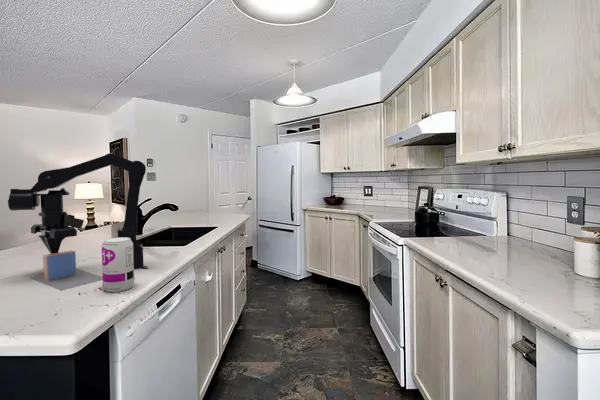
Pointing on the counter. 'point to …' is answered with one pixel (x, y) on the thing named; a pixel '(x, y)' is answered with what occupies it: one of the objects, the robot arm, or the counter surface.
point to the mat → (70, 280)
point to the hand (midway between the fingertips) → (54, 256)
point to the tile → (59, 265)
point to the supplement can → (117, 264)
